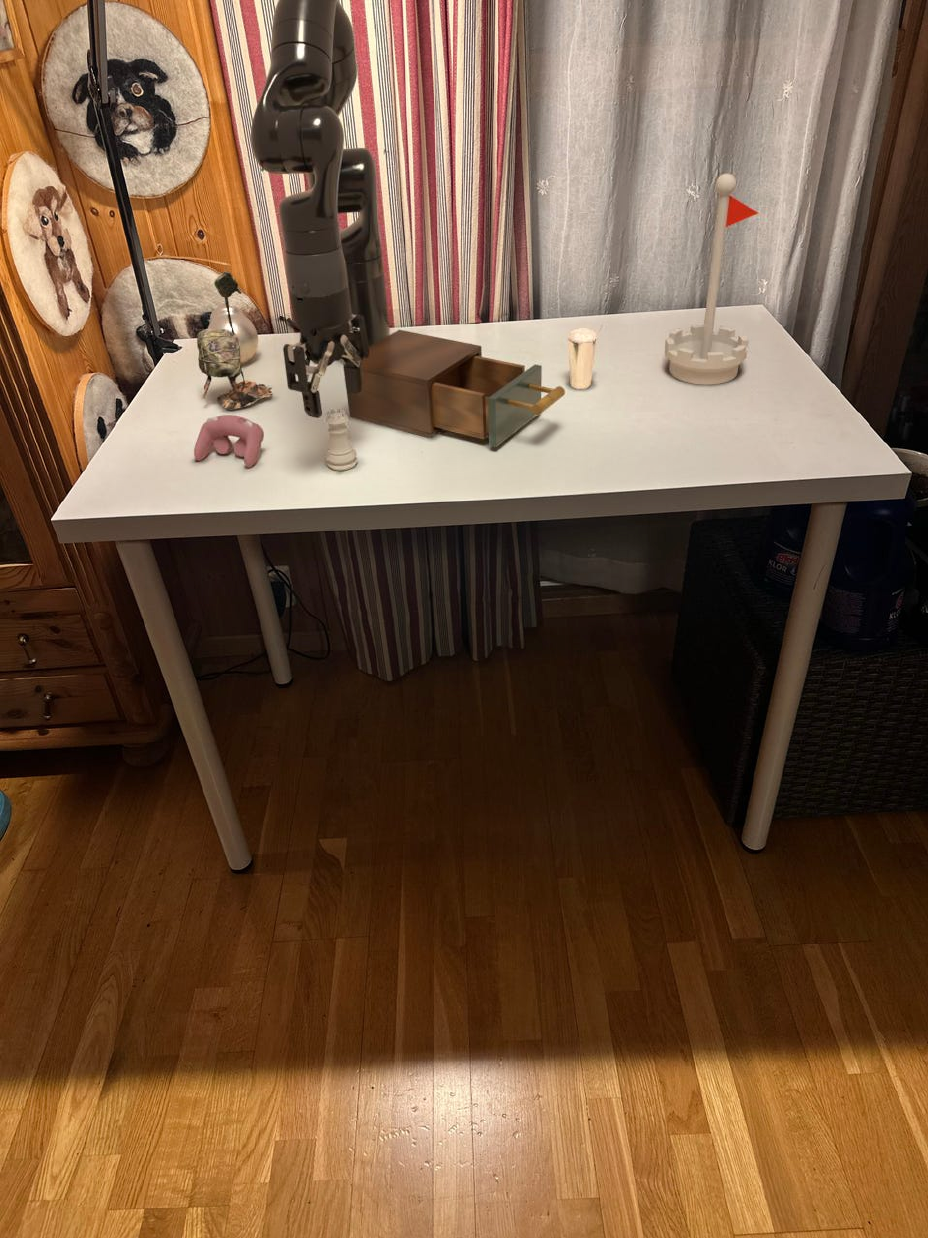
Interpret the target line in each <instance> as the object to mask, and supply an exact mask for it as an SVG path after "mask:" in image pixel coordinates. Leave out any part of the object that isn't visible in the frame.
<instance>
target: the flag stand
mask: <svg viewBox="0 0 928 1238" xmlns="http://www.w3.org/2000/svg"><path fill="white" fill-rule="evenodd" d="M714 187H715V191H716V193H717V194H718V201H717V202H718V203H717V210H716V219H715V220H716V221H715V229H714V236H713V246H712V251H711V252H712V254H711V261H710V270H709V279H708V288H707V295H706V303H705V304H706V305H705V312H704V322H703V324H694V325H693V324H692V325H690V331H689V332H683V329H681V328H675V329H672V330H671V331H670V332H669V333H668V338H667V337H666V338H665V343H664V355H665V357H666V358H667V359H668V360H669V367H668V368H669V373H670V375H671V376H672V377H673V378H675V379H677V380H679V381H682V382H685V383H689V384H694V385H705V386H707V385H719V384H724V383H727V382H730V381H732V380H733V379H735V378H736V377H737V376H738V371H739V365H740V364H741V363H743V362H744V361H745V360H746V358H747V356H748V348H749V343H750V342H749V341H750V340H749V338H748V336H747V335H745V334H739V335H738V337H736V336H735V334H736V329H734V328H731V327H727V326H719V329H718V332H716V331H714V326H715V317H716V311H717V302H718V301H717V300H718V294H719V293H718V292H719V286H720V278H721V269H722V260H723V254H724V245H725V236H726V228H728V227H730V226H732V225H734V224H737V223H740V222H742V221H743V220H746V219H749V218H751V217H753V216H755V215H758V214H759V212H758V211H756V210H754V209H753V208H751V207H750V206H748V205H746V204H745V203H743V202H742V201H740V200H738V199H736V198H735V197H733V196H732V195H731V194H732V193H733V192H734V191H735V190H736V187H737V180H736V178H735V176H734V175H732V174H731V173H723V174H721V175H720V176H719V177H718V178H717V179H716V182H715V186H714Z"/></svg>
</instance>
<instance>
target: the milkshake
mask: <svg viewBox="0 0 928 1238" xmlns="http://www.w3.org/2000/svg"><path fill="white" fill-rule="evenodd" d="M602 327H603V325H601V326H600V328H599V330H598V332H597V333H596V332H595V331H594V330H593V329H590V328H587V327H579V328H574V329H572V330H570V332H569V333H568V335H567V348H568V363H569V365H568V366H569V383H570V384H569V385H570V386H571V388H573V389H580V390H581V389H582V390H584V389H588V388H589V387H590V386H592V378H593V368H594V360H595V352H596V345H597V338H598V336H599V334H600V331H601V330H602Z"/></svg>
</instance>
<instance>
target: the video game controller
mask: <svg viewBox="0 0 928 1238" xmlns="http://www.w3.org/2000/svg"><path fill="white" fill-rule="evenodd" d="M230 437H233V438H234V437H235V438H238V439H237V440H236V441H235V443H234V444H233V443H232V441H231V439H230ZM264 438H265V433H264V429H263V428H262V426H261V425H259V424H258V423H256V422H253V421H251V420H250V419H249V418H246V417H243V416H240V415H234V414H233V415H232V414H226V415H225V414H222V415H217V416H212V417H208V418H207V419H206V420H205V422H204V423H203V424H202V425H201V427H200V431H199V433H198V436H197V439H196V442H195V444H194V448H193V456H194V459H196V461H197V462H201V461H203V460H204V459H205V458H206V457H207V455H208V453H209V452H210V450H211V448H212V446H214V449H215V450H216V452H217V453H218V454H219V455H227V454H229V453H231V452H232V450H233V451H234V453H235V455H237V456H238V457H242V458H243V462H244V465H245V467H247V468H252V467H253V466H254V465H255V463H257V460H258V458H259V455H260V451H261V446H262V443H263V441H264Z"/></svg>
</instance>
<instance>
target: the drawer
mask: <svg viewBox="0 0 928 1238" xmlns="http://www.w3.org/2000/svg"><path fill="white" fill-rule="evenodd" d="M542 367H543V365H541V364H540V365H539V364H536V363H535V364H533V365H532V366H530V367H529V368H527V369H526V366H525V365H524V364H519V363H514V362H509V361H504V360H499V359H494V358H489V357H485V356H482V357H480V356H475V355H474V356H473V357H471V358H470V359H468V360H467V361H465V362H464V363H462V364H460V365H459V366H457V367H456V368H454V369H453V370H451V371H450V372H448V373H447V374H445V375H444V376H442V377H441V378H439V379H437V380H436V381H434V382H433V383H431V392H432V406H433V420H434V427H436V428H440V429H444V430H445V431H448V432H453V433H456V434H460V435H464V436H468V437H472V438H476V439H480V440H485V439H487V438H488V446H490V447H493V448H497V447H498V446H499V445H501V444H502V443H503V442H504V441H505V440H507V439H508V438H510V437H511V436H512V435H513V434H515V433H516V432H517V431H519V430H520V429H521V428H522V427H523V426H525V425H526V424H528V422H529V421H531V420H533V419H534V417H536V416H540V415H542V414H543V413H544V412H545V411H547V410H548V409H549V408H550V407H551V406H553V405H554V404H556V403H557V402H558V401H559V400H560V399H562V398H563V397H564V396H565V394H566V391H565V389H564V387H563V386H561V385H558V386H556V387H555V388H551V387H547V386H542V380H543V379H542V378H543V375H542V374H543V373H542V372H543V369H542ZM525 369H526V370H525ZM542 393H546V395H544V396H543V397H542ZM444 430H443V431H444Z"/></svg>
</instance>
